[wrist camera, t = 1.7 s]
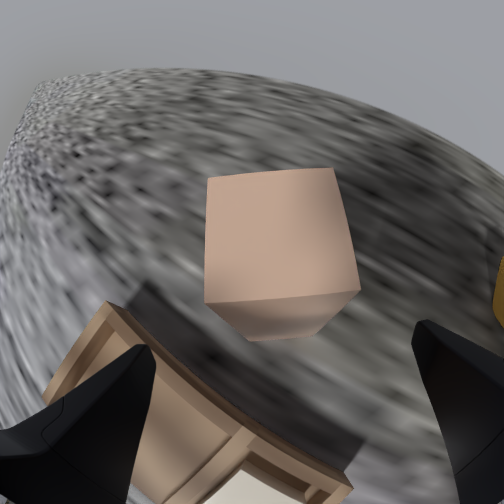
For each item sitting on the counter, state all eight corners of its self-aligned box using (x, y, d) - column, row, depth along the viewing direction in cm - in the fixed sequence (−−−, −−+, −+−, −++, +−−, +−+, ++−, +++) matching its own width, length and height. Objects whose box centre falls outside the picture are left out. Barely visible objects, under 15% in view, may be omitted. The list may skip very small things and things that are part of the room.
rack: (250, 551, 11) (246, 572, 8) (65, 396, 17) (41, 396, 14) (343, 472, 13) (354, 488, 11) (127, 310, 20) (105, 300, 17)
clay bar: (312, 336, 18) (360, 289, 7) (249, 341, 18) (204, 303, 7) (306, 277, 20) (332, 167, 9) (246, 282, 20) (207, 178, 9)
